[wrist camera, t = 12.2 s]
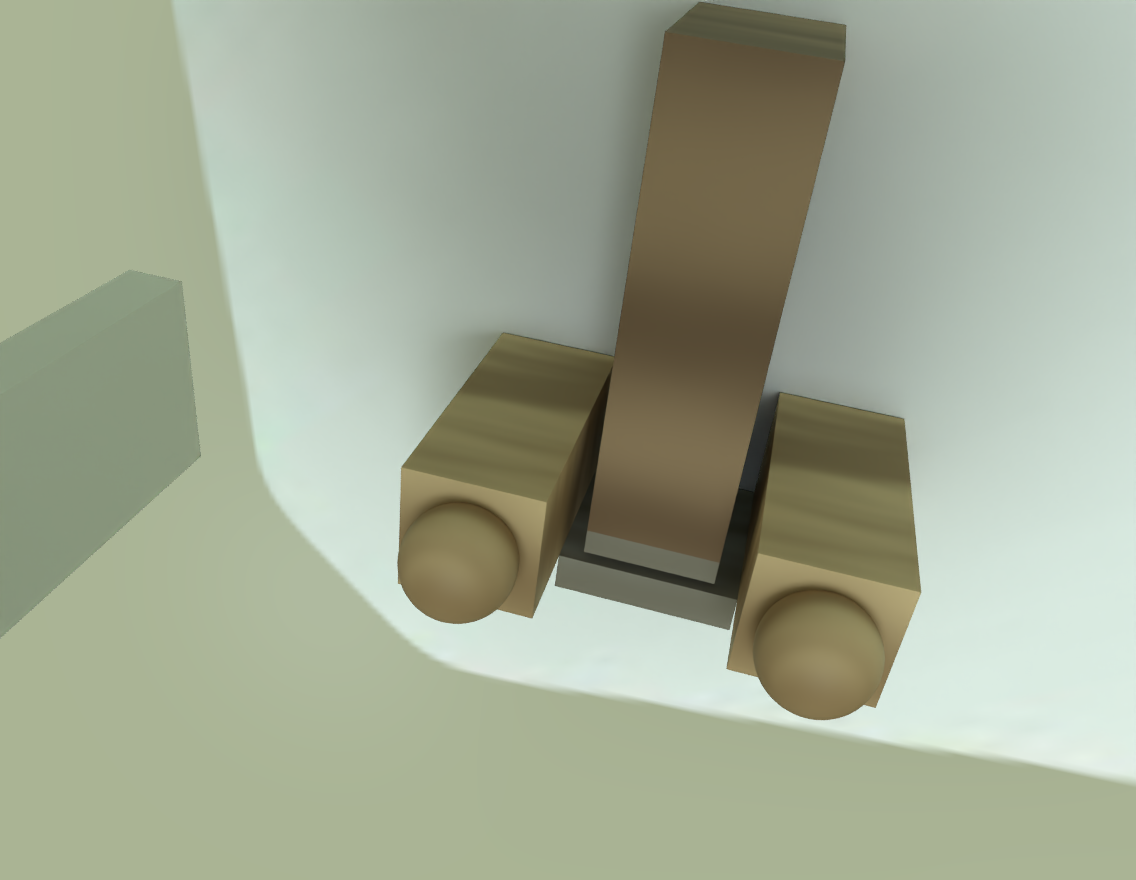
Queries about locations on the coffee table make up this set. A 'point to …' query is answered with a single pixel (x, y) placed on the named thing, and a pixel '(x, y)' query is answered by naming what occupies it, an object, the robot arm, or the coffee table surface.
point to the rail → (708, 276)
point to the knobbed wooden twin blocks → (745, 574)
